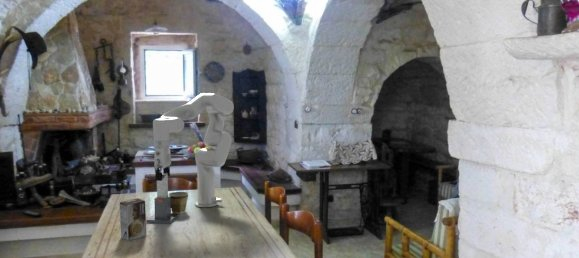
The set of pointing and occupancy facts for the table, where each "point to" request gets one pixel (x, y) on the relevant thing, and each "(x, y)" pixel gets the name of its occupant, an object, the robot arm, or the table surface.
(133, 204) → the coffee box
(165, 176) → the steel post
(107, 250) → the table surface
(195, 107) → the robot arm
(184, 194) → the ceramic cup
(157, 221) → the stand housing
